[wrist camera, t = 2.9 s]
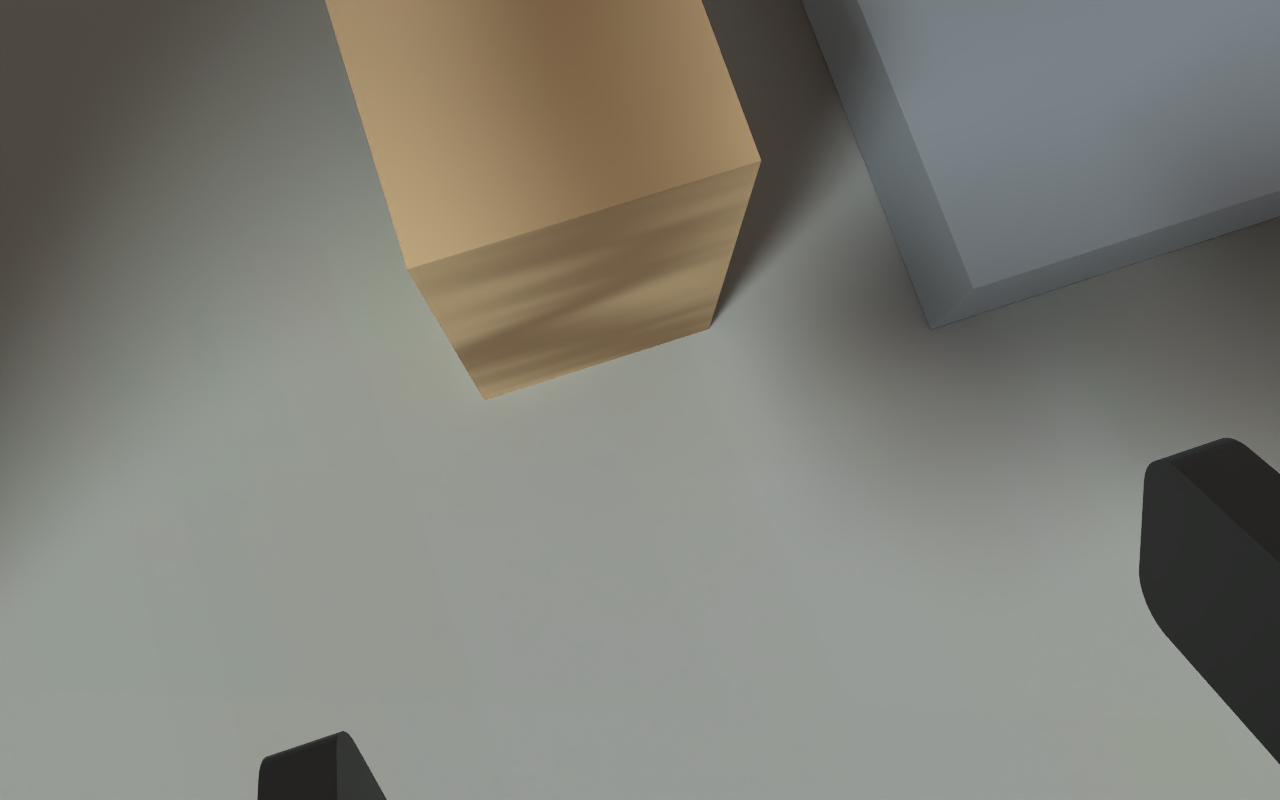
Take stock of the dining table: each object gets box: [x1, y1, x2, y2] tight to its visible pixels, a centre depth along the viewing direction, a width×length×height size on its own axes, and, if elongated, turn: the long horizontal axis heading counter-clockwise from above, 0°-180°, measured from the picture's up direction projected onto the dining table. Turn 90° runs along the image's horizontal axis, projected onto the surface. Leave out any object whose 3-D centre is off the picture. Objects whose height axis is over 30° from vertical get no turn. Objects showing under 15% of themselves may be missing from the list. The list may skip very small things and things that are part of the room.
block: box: [325, 0, 761, 400], centre depth 20 cm, size 5×5×9 cm
